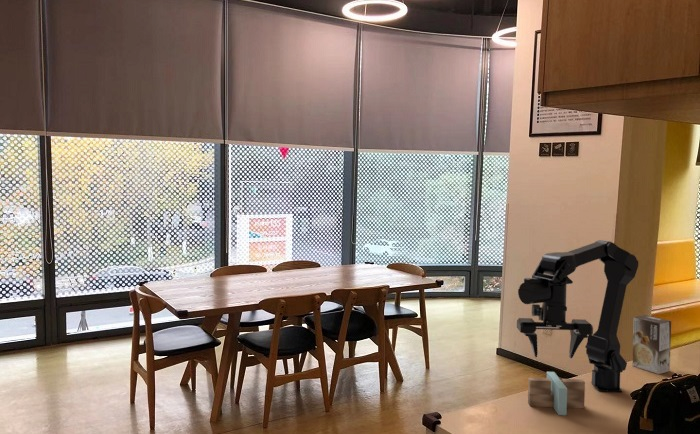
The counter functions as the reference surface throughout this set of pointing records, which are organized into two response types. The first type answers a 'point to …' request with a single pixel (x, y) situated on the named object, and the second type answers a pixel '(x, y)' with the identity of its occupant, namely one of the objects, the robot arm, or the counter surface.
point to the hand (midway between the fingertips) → (553, 357)
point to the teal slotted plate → (558, 393)
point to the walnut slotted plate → (545, 398)
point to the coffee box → (651, 343)
